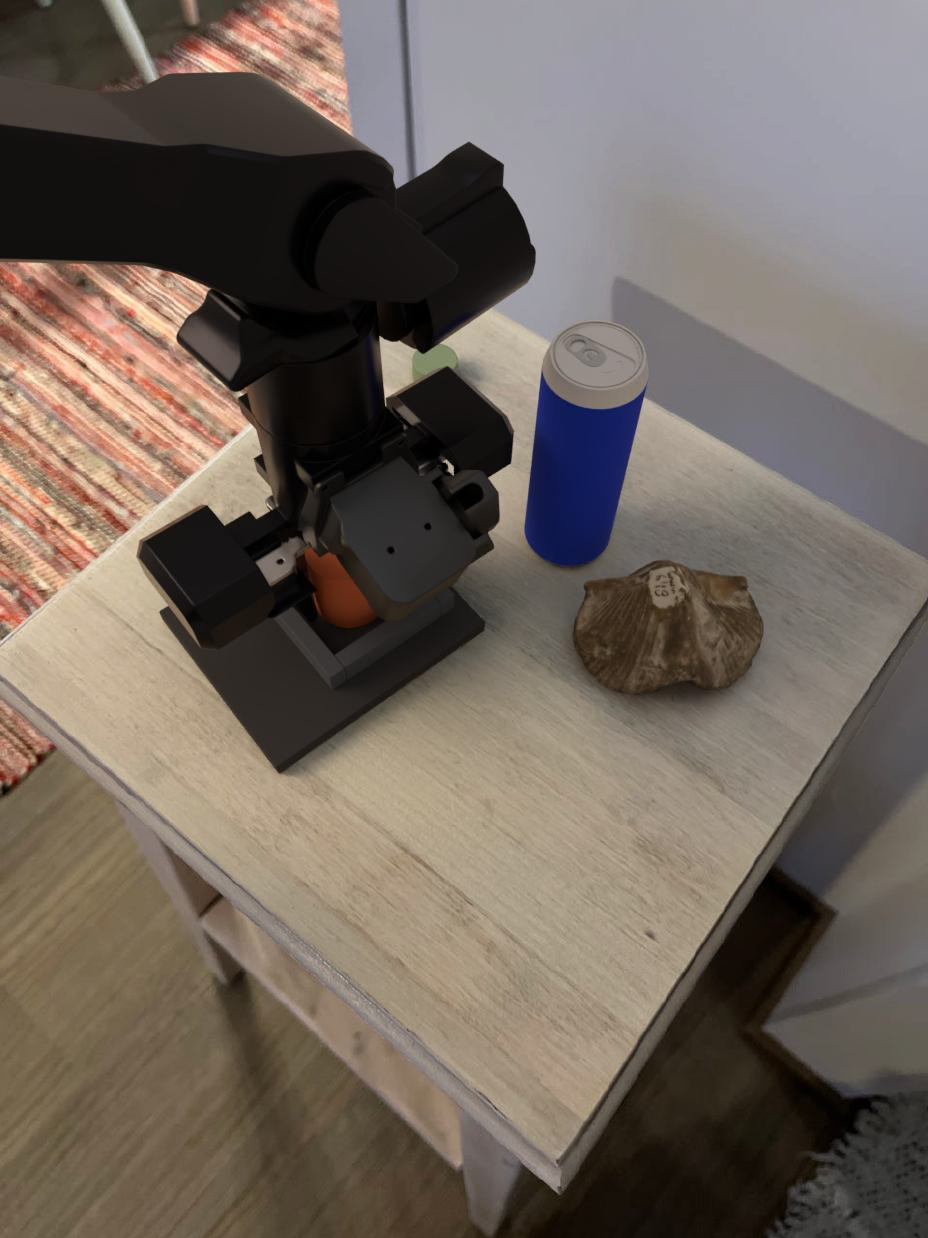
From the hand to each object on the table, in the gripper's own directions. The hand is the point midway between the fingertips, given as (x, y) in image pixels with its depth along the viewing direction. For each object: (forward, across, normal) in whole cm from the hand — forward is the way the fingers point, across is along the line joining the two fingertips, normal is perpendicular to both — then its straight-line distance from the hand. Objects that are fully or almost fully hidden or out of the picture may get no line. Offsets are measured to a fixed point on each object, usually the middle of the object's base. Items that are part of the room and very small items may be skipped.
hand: (349, 589), depth 56 cm
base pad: (+2, -2, 0) cm, 3 cm away
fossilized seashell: (+2, +12, -13) cm, 18 cm away
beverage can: (+2, +13, -4) cm, 14 cm away
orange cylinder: (+1, 0, 0) cm, 1 cm away
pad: (+2, +15, +11) cm, 19 cm away
